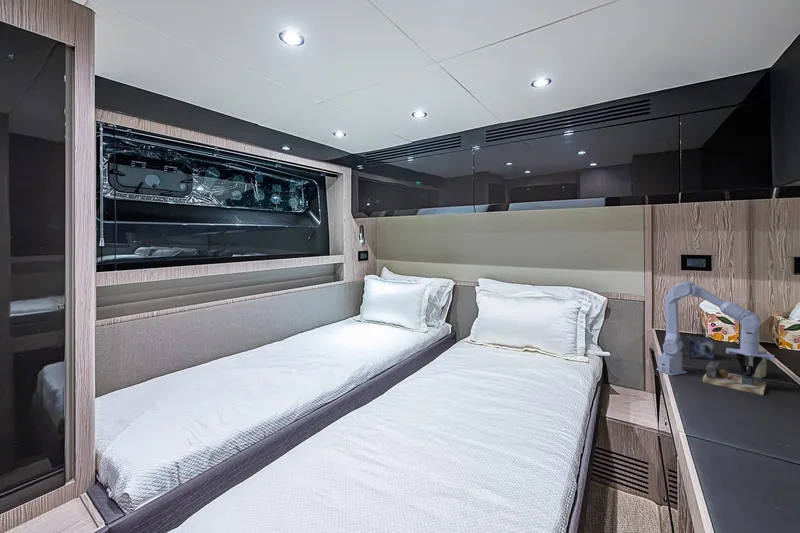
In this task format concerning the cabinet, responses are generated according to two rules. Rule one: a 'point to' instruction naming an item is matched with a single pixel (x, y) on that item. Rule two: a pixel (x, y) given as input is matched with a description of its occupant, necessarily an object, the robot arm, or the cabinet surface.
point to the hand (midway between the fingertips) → (748, 372)
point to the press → (731, 379)
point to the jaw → (748, 375)
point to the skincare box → (761, 367)
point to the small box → (700, 347)
